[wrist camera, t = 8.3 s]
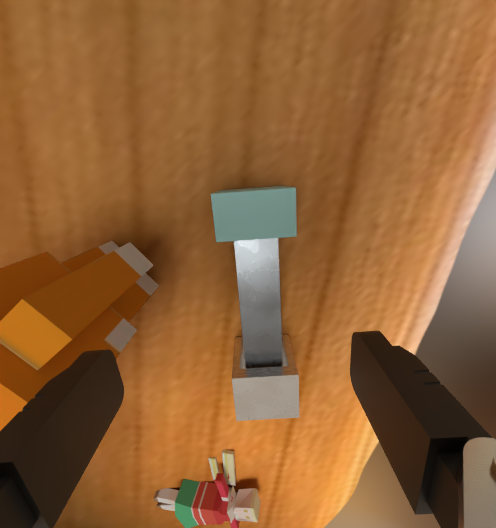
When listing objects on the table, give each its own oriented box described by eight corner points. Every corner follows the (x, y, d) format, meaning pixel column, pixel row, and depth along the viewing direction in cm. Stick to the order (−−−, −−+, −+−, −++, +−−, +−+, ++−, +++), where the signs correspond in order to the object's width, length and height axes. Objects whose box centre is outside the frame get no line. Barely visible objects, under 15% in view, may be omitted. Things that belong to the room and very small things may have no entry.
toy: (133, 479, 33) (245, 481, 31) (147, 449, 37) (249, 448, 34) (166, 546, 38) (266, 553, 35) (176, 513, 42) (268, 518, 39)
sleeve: (289, 370, 31) (299, 417, 25) (238, 373, 31) (236, 420, 25) (287, 333, 29) (298, 374, 23) (235, 337, 29) (231, 378, 23)
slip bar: (279, 353, 29) (283, 376, 25) (246, 355, 29) (246, 379, 25) (272, 207, 24) (277, 211, 20) (233, 209, 24) (231, 214, 20)
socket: (284, 222, 25) (296, 236, 19) (223, 227, 25) (216, 242, 19) (283, 185, 24) (295, 187, 18) (220, 190, 24) (210, 193, 18)
